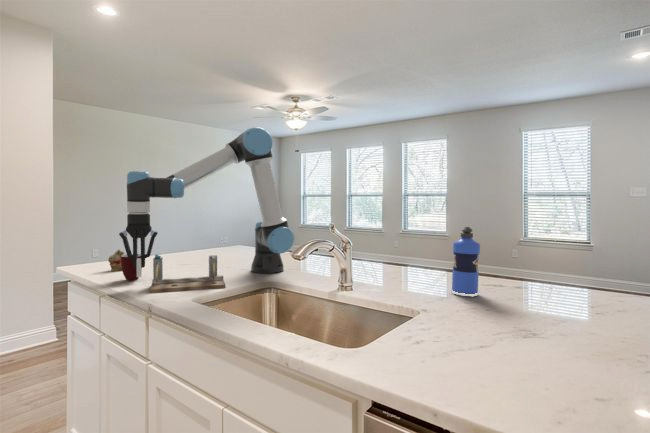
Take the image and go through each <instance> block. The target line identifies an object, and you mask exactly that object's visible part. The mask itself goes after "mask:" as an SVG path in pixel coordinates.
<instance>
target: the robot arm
mask: <svg viewBox="0 0 650 433" xmlns="http://www.w3.org/2000/svg"><path fill="white" fill-rule="evenodd" d="M272 148H273V138H272V135H271V134H270V133H269V131H267V130H266V129H265V128H262V127H259V126H255V127H251V128H250V127H249V128H247V129H246V130H245V131H244V132H242V133H240V134H239V135H238V136H237V137H236V138H234V139H233V140H231V141H230V142H228V143H225V146H224V148H222V149H219V150H217V151H216V152H214V153H211V154H209V155H208V156H206V157H204V158H202V159H200V160H198V161H197V162H194V163H192V164H190V165H188V166H186V167H184V168H182V169H180V170H178V171H177V172H175V173H172V174H171V175H169V176H167V177H151V175H150V172H148V171H139V170H138V171H137V170H136V171H135V170H133V171H129V172H127V174H126V197H127V198H126V200H127V201H126V210H127V211H126V212H127V213H128V214H127V215H126V216H127V217H126V219H127V225H126V227H125V230H123V231H121V232H119V233H118V235H119V236H120V238H121V239H122V243H123V246H124V249H125V253H126V255H127V257H128V258H132V259H133V267H134V268H137V277H139V278H142V276H143V268H145V266H146V259H147V258H149V257H151V254H152V250H153V246H154V243H155V239H156V236H157V235H159V234H158V231H155V230H154V229H153V228H152V226H151V215H150V212H151V198H161V199H163V198H164V199H177V198H178V199H180V198H183V197H184V195H185V190H186V189H187V188H190V187H191V186H193V185H195V184H197V183H198V182H201V181H202V180H204V179H206V178H208V177H210V176H212V175H213V174H215V173H217V172H219V171H221V170H223V169H225V168H227V167H229V166H231V165H233V164H237V165H238V164H239V163H242V162H243V161H245V162H244V163H245V164H246V165H248V167H249V168H250V173H251V176H252V179H253V180H252V181H253V185H254V188H255V194H256V198H257V200H258V206H259V209H260V213H261V214H260V215H261V218H262V221H259V222H256V224H255V226H254V227H255V228H254V234H255V235H254V236H255V237H254V238H255V239H254V242H255V244H254V245H255V246H254V253H255V254H254V257H253V260H252V261H251V262H252V263H251V267H250V268H251V270H250V271H251V272H253V273H257V274H274V273H275V272H277V273H281V272H283V271H284V264H283V263H284V262H283V260H282V257H281V256H282V255H281V254H285V253H287V252H288V251H290V250H291V248H293V245H294V243H295V235H294V232H293V231H292V229H291V228H289V222H288V220H287V218H285V216H283V213H282V209H281V205H280V200H279V199H280V198H279V196H278V191H277V187H276V182H275V179H274V178H275V177H274V174H273V170H272V166H271V164H272V163H271V162H272V160H273V153H272ZM149 234H150V240H149V244H148V247H147V251H146V237H147V236H149ZM128 235H129V236H130V237H131V238H132V250H131V246H130V244H129V240H128ZM138 239H140V254H141V258H140V259H137V257H138V254H139V253H138ZM132 254H133V255H132ZM280 271H281V272H280Z"/></svg>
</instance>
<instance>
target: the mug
mask: <svg viewBox="0 0 650 433" xmlns="http://www.w3.org/2000/svg"><path fill="white" fill-rule="evenodd" d="M137 254H138V257H137V259H140V258H141V253H137ZM132 255H133V253H132ZM121 266H122V271H121V272H122V274H123V276H124V278H125V279H126V281H129V282H130V281H131V282H132V281H137V280H139V278H140V277H137V268H134V267H133V259H132V258H128V257H127V254H123V255H122V256H121Z"/></svg>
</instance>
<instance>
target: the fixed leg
mask: <svg viewBox="0 0 650 433" xmlns="http://www.w3.org/2000/svg"><path fill="white" fill-rule="evenodd" d="M208 276H209V277H213V279H215V276H218V256H217V255H216V254H214V255H208Z"/></svg>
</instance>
